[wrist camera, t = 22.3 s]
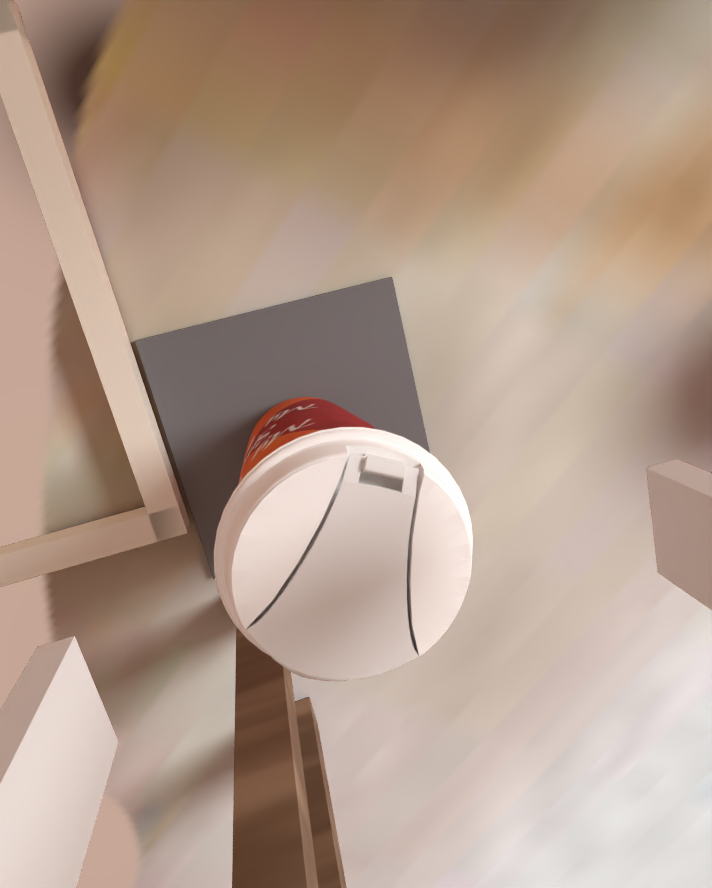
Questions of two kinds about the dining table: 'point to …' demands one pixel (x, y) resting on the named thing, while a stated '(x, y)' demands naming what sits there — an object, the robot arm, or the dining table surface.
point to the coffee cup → (341, 544)
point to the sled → (164, 516)
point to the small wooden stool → (279, 783)
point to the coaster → (276, 382)
